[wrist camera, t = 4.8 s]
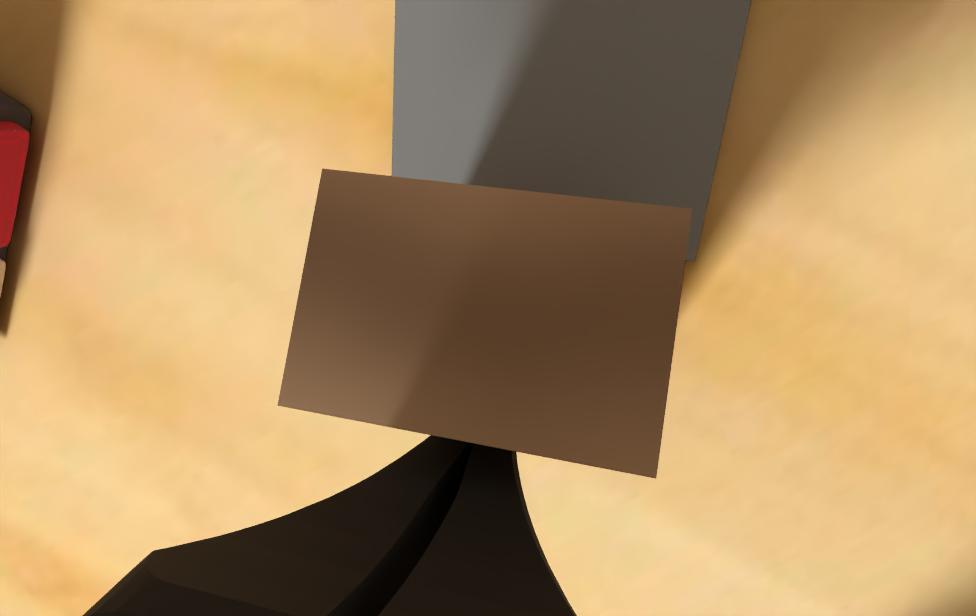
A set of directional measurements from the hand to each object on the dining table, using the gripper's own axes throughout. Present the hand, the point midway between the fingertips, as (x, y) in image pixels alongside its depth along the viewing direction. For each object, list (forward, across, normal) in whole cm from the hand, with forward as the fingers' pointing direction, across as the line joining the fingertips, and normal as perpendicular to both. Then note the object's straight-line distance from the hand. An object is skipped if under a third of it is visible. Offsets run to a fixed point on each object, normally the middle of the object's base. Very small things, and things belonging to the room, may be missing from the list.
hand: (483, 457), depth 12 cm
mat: (+6, 0, -9) cm, 11 cm away
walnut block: (+5, 0, -1) cm, 5 cm away
